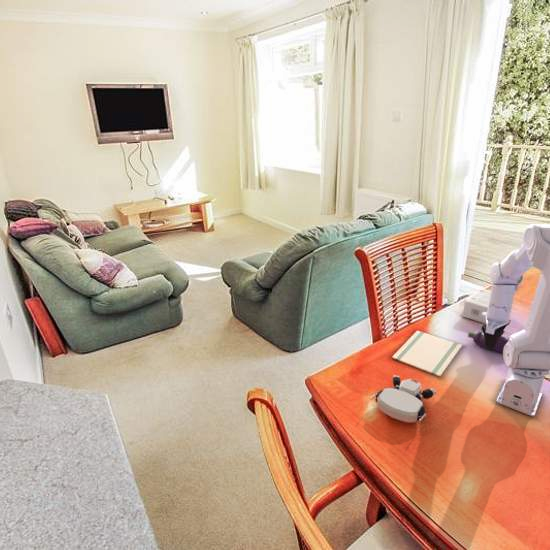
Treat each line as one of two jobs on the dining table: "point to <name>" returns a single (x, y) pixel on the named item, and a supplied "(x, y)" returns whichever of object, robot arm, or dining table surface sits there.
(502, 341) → the eggplant
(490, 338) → the robot arm
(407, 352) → the towel
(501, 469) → the dining table surface
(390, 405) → the robot toy
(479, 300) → the small box
